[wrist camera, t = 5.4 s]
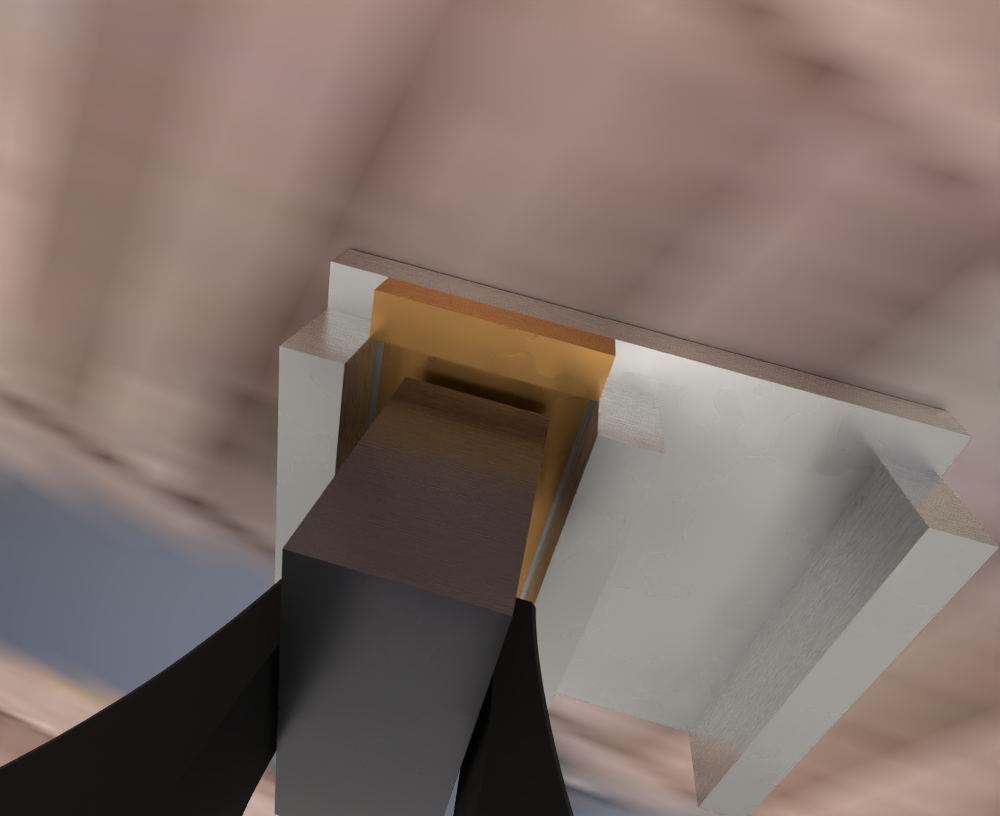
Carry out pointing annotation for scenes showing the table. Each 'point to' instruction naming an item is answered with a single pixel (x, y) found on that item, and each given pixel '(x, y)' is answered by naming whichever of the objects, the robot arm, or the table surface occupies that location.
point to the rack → (663, 507)
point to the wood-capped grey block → (402, 604)
